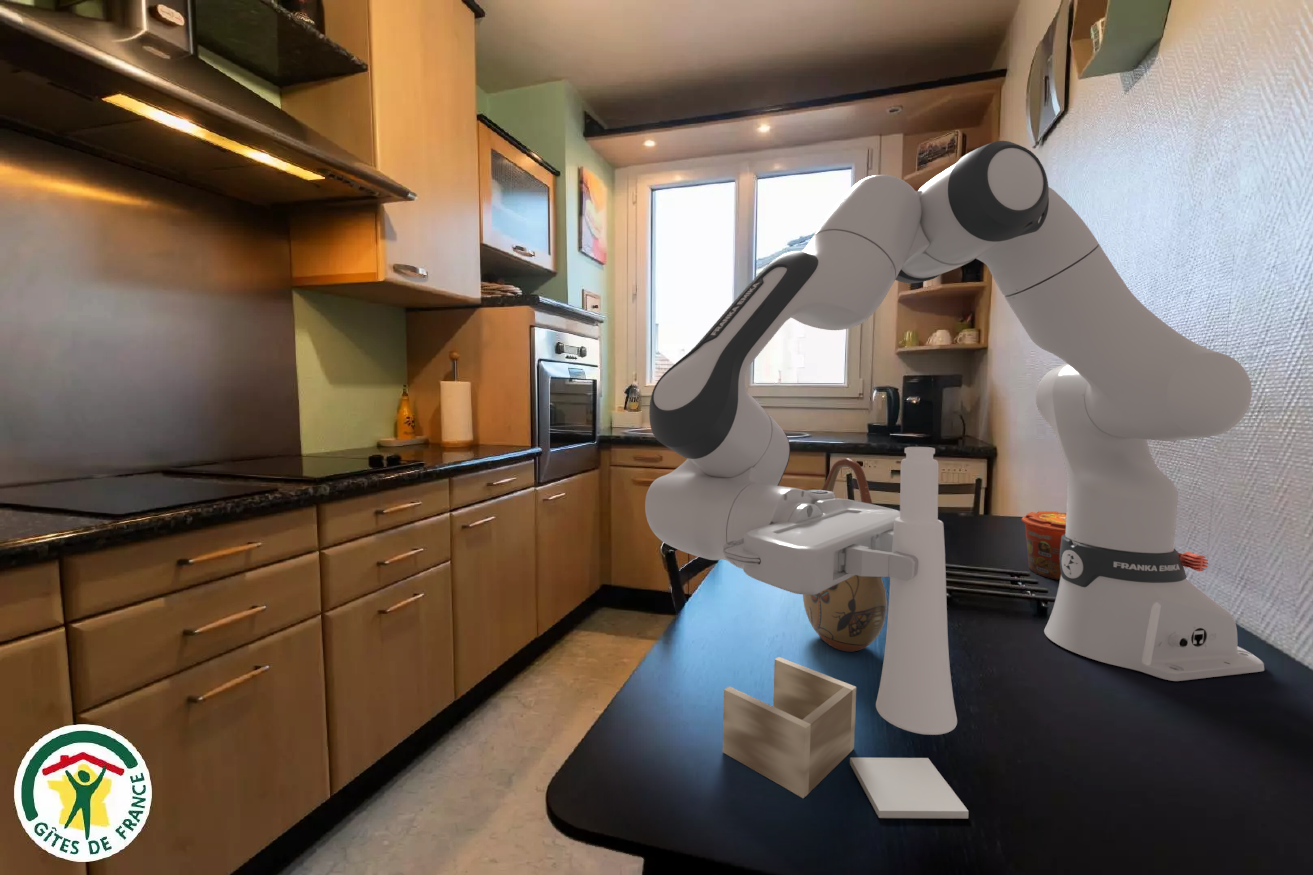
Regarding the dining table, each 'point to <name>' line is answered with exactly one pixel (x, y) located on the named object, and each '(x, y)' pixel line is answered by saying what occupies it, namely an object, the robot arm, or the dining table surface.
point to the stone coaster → (907, 788)
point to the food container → (1044, 542)
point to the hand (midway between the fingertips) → (927, 562)
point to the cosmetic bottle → (918, 610)
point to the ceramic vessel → (849, 593)
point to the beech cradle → (792, 727)
